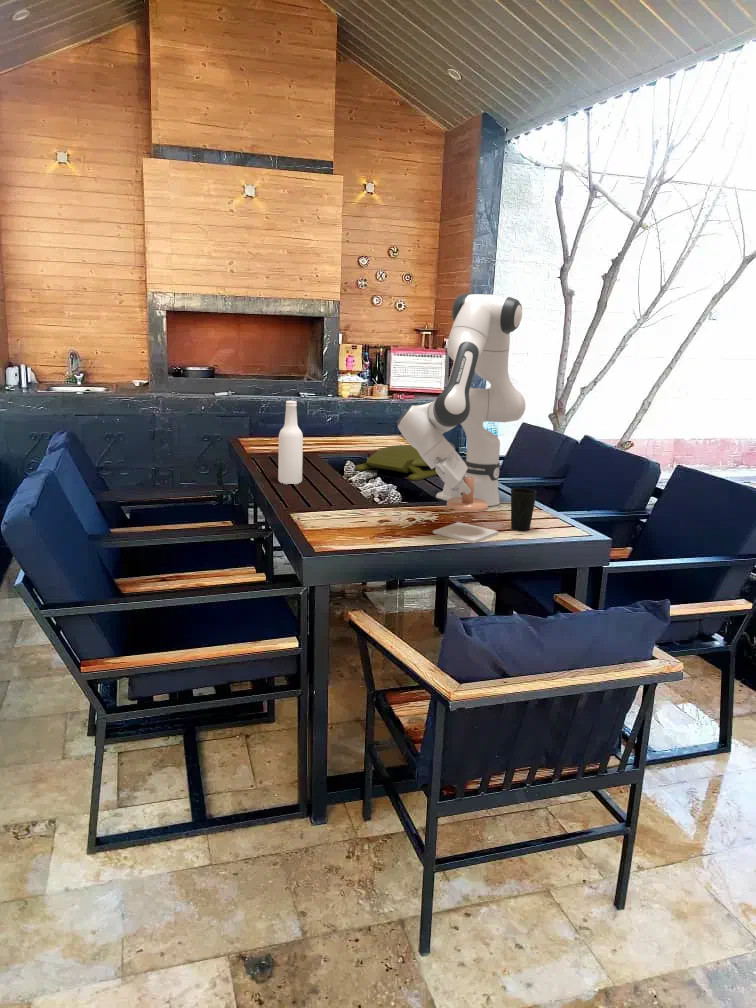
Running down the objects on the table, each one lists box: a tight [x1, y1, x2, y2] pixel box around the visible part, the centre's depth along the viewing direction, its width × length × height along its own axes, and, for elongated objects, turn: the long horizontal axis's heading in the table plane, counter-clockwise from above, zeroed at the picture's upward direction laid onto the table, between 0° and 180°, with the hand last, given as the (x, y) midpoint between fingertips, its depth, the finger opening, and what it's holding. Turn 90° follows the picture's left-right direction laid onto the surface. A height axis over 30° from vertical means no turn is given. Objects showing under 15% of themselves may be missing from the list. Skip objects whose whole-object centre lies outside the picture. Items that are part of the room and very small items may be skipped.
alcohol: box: [277, 400, 304, 485], centre depth 278 cm, size 9×9×30 cm
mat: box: [432, 521, 499, 544], centre depth 224 cm, size 14×14×1 cm
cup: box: [510, 487, 537, 532], centre depth 231 cm, size 8×8×12 cm
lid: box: [446, 477, 489, 513], centre depth 222 cm, size 12×12×8 cm
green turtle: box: [354, 444, 439, 482], centre depth 314 cm, size 35×31×10 cm
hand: (470, 490), depth 222 cm, fingers closed on lid, 3 cm apart
